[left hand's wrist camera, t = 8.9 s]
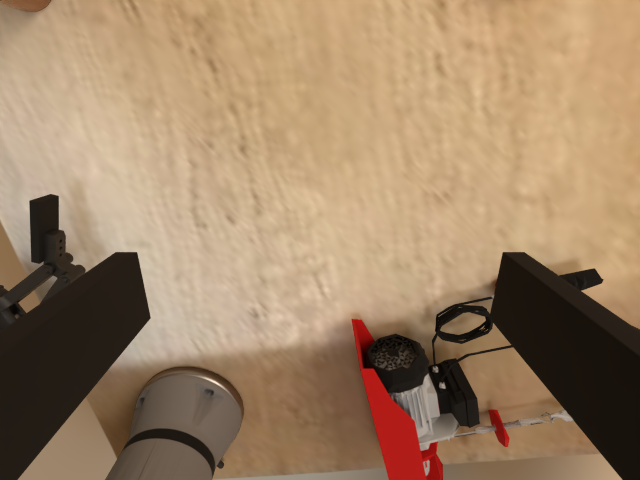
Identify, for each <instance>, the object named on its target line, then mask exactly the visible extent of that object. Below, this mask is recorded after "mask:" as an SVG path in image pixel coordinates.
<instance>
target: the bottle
mask: <svg viewBox="0 0 640 480" xmlns="http://www.w3.org/2000/svg"><path fill="white" fill-rule="evenodd" d="M50 1H51V0H0V3H2V4H5V5H8V6H11V7H14V8H16V9H19V10H22V11H27V12H36V11H39V10H41V9H43V8H45V7H46V6H47V5H48V4H49V3H50Z"/></svg>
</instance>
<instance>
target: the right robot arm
mask: <svg viewBox="0 0 640 480" xmlns="http://www.w3.org/2000/svg"><path fill="white" fill-rule="evenodd" d="M30 230H31V262H34V263H38V264H40V263H42V262H43V261H44V265H42V266H41V267H39V268H38V269H37V270H36V271H34V272H33V273H32V274H30V275H29V276H28V277H27V278H25V279H24V280H23V281H21V282H20V283H19V284H18V285H16V286H15V287H14V288H12V289H11V290H10V291H7V290H6V289H4V286H2V285H0V331H1V330H3V329H4V328H6V327H7V326H9V325H10V324H12V323H13V322H15V321H16V320H18V319H19V318H21V317H22V316H23V315H25V314H26V312H25V311H24V310H23V308H22V307H21V306H20V305H19V304H18V302H19V301H21V300H22V299H23V298H25V297H26V296H27V295H29V294H30V293H31V292H32V291H33V290H35V289H36V288H37V287H39V286H40V285H41V284H43V283H44V282H45V281H46V280H48V279H49V278H50V277H52V276H53V275H54V276H56V277H57V278H58V279H57V280H56V282H55V283H54V284H53V286H52V287H51V289H50V290H49V292H48V293H47V295H46V296H45V297H44V299H43V300H42V302H44V301H45V300H47V299H48V298H50V297H51V296H53V295H54V294H56V293H57V292H59V291H60V290H61V289H63V288H64V287H66V286H67V285H69V284H70V283H72V282H73V281H75V280H76V279H78V278H79V277H80V276H82V275H83V274H85V268H84V267H83V266H81V265H76V266H75V265H73V264H71V262H72V261H73V256H72V255H71V254H70V253H65V250H66V245H65V244H66V236H65V233H64V231H62V230H59V196H56V195H52V194H50V195H47V196H43V197H40V198H37V199H34V200H30ZM42 302H41V303H42ZM41 303H40V304H41ZM243 413H244V409H243V403H242V400H241V397H240V395H239V394H238V392H237V391H236V389H235V388H234V387H233V386H232V385H231V384H230V383H229V382H228V381H226V380H225V379H224V378H222V377H220V376H219V375H217V374H215V373H213V372H210V371H207V370H204V369H199V368H193V367H178V368H172V369H168V370H165V371H163V372H161V373H159V374H157V375H156V376H154V377H153V378H152V379H151V380H150V381H149V382H148V383H147V384H146V386H145V387H144V389H143V390H142V392H141V394H140V395H139V397H138V400H137V403H136V406H135V411H134V416H133V420H132V425H131V430H130V434H129V439H128V442H127V444H126V445H125V447H124V449H123V450H122V452H121V454H120V455H119V457H118V459H117V461H116V462H115V464H114V466H113V467H112V469H111V471H110V472H109V474H108V476H107V478H106V479H105V480H212V478H213V474H214V471H215V468H216V466H217V467H219V468H220V469H221V468H223V466H224V463H223V462H222V461H221V458H222V457H223V455H224V454H225V452H226V451H227V449H228V448H229V446H230V444H231V443H232V442H233V440H234V439H235V437H236V436H237V434H238V432H239V430H240V426H241V423H242V419H243Z"/></svg>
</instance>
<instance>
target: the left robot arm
mask: <svg viewBox="0 0 640 480" xmlns="http://www.w3.org/2000/svg"><path fill="white" fill-rule="evenodd" d="M489 318H490V319H491V321H492V322H493V323H494V324H495V325H496V327H497V328H498V329H499V330H500V331H501V333H502V334H503V335H504V336H505V338H506V339H507V340H508V341H509V342H510V344H511V345H512V346H513V347H514V348H515V350H516V351H517V352H518V353H519V355H520V356H521V357H522V358H523V359H524V361H525V362H526V363H527V364H528V365H529V367H530V368H531V369H532V370H533V372H534V373H535V374H536V375H537V376H538V378H539V379H540V380H541V381H542V382H543V384H544V385H545V386H546V387H547V389H548V390H549V391H550V392H551V393H552V395H553V396H554V397H555V398H556V399H557V401H558V402H559V403H560V404H561V406H562V407H563V408H564V409H565V410H566V412H567V413H568V414H569V415H570V416H571V418H572V419H573V420H574V421H575V423H576V424H577V425H578V426H579V427H580V429H581V430H582V431H583V432H584V433H585V435H586V436H587V437H588V438H589V440H590V441H591V442H592V443H593V444H594V446H595V447H596V448H597V449H598V450H599V452H600V453H601V454H602V455H603V457H604V458H605V459H606V460H607V461H608V463H609V464H610V465H611V466H612V467H613V469H614V470H615V471H616V472H617V473H618V475H619V476H620V477H621V478H622V480H640V329H638V328H636V327H634V326H631V325H630V324H628V323H627V322H625V321H624V320H622V319H621V318H619V317H618V316H617V315H615V314H614V313H612V312H611V311H609V310H608V309H606V308H605V307H603V306H602V305H600V304H599V303H598V302H596V301H595V300H593V299H592V298H590V297H589V296H587V295H586V294H584V293H583V292H581V291H580V290H579V289H577V288H576V287H574V286H573V285H571V284H570V283H568V282H567V281H565V280H564V279H562V278H561V277H560V276H558V275H557V274H555V273H554V272H552V271H551V270H549V269H548V268H546V267H545V266H544V265H542V264H541V263H539V262H538V261H536V260H535V259H533V258H532V257H530V256H529V255H527V254H526V253H525V252H503V254H502V259H501V264H500V269H499V274H498V279H497V284H496V288H495V293H494V298H493V303H492V308H491V313H490V317H489ZM149 319H150V313H149V308H148V303H147V298H146V293H145V288H144V284H143V279H142V274H141V269H140V264H139V259H138V254H137V252H115V253H114V254H113V255H111V256H110V257H108V258H107V259H105V260H104V261H102V262H101V263H99V264H98V265H96V266H95V267H94V268H92V269H91V270H89V271H88V272H86V273H85V274H83V275H82V276H80V277H79V278H78V279H76V280H75V281H73V282H72V283H70V284H69V285H67V286H66V287H64V288H63V289H61V290H60V291H59V292H57V293H56V294H54V295H53V296H51V297H50V298H48V299H47V300H45V301H44V302H42V303H41V304H40V305H38V306H37V307H35V308H34V309H32V310H31V311H29V312H28V313H26V314H25V315H23V316H22V317H21V318H19V319H18V320H16V321H15V322H13V323H12V324H10V325H9V326H7V327H6V328H4V329H3V330H1V331H0V480H18V478H19V477H20V476H21V475H22V473H23V472H24V471H25V470H26V469H27V467H28V466H29V465H30V464H31V463H32V461H33V460H34V459H35V458H36V456H37V455H38V454H39V453H40V452H41V450H42V449H43V448H44V447H45V446H46V444H47V443H48V442H49V441H50V440H51V438H52V437H53V436H54V435H55V433H56V432H57V431H58V430H59V429H60V427H61V426H62V425H63V424H64V423H65V421H66V420H67V419H68V418H69V416H70V415H71V414H72V413H73V412H74V410H75V409H76V408H77V407H78V406H79V404H80V403H81V402H82V401H83V399H84V398H85V397H86V396H87V395H88V393H89V392H90V391H91V390H92V389H93V387H94V386H95V385H96V384H97V382H98V381H99V380H100V379H101V378H102V376H103V375H104V374H105V373H106V372H107V370H108V369H109V368H110V367H111V365H112V364H113V363H114V362H115V361H116V359H117V358H118V357H119V356H120V355H121V353H122V352H123V351H124V350H125V348H126V347H127V346H128V345H129V344H130V342H131V341H132V340H133V339H134V338H135V336H136V335H137V334H138V333H139V331H140V330H141V329H142V328H143V327H144V325H145V324H146V323H147V322H148V321H149Z"/></svg>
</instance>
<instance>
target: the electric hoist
mask: <svg viewBox="0 0 640 480" xmlns="http://www.w3.org/2000/svg"><path fill="white" fill-rule="evenodd" d="M560 277H561V278H562V279H564V280H565V281H567V282H568V283H570V284H571V285H573V286H574V287H576V288H577V289H579V290H580V291H581V290H584V289H587V288H590V287H593V286H596V285H598V284H601V283H602V282H603V280H604V279H601V277H600V276H599V274H598V273H597V271H596V270H595V269H589V270H584V271H579V272H574V273H570V274H565V275H560ZM496 284H497V282H496ZM495 286H496V285H495ZM493 298H494V295H492V297H487V298H483V299H478V300H473V301H468V302H464V303H459V304H455V305H452V306H450V307H448V308H446V309H445V310H443V311H442V312H440V313H439V314H437V316H436V328H435V332H436V334H435V336H434V338H433V340H432V347H433V359H434V365H430V366H429V367H430V368H429V367H428V364H429V360H428V359H427V357H426V355H425V351H424V349H423V348H422V347H421V345H420V343H418V342H416V341H413V340H411V339H409V338H405V337H403V336H400V335H397V334H393V335H390V336H386V337H383V338H380V339H378V340H377V341H374V339H373V338H372V336H371V334H370V333H369V331H368V330H367V328H366V326H365V325H364V323H363V322H362V320H358V319H352V324H353V330H354V336H355V342H356V347H357V353H358V359H359V364H360V370H361V373H362V377H363V381H364V385H365V389H366V393H367V397H368V400H369V404H370V408H371V412H372V416H373V420H374V424H375V427H376V431H377V435H378V439H379V443H380V447H381V451H382V454H383V458H384V462H385V466H386V470H387V474H388V478H389V480H443V464H442V463H441V461H440V459H439V458H438V456H437V454H436V451H437V443H438V441H442V440H446V439H448V441H449V439H450V438H453V437H457V436H464V435H470V434H476V433H480V434H481V433H485V432H490V431H495V434H496V436H497V438H498V441H499V442H500V443H501V444H502V445H503V446H505V447H508V443H509V436H508V434H507V432H506V430H505V429H507V428H513V427H520V426H526V425H532V424H538V423H545V422H551V423H553V420H555V419H558V418H562V419H563V420H565V421H574V420H573V419H572V418H571V416H570V415H569V414H566V413H567V412H566V410H565V409H564V410H561V411H559V412H557V413H553V414H549V413H547V412H546V413H544V414H547V415H548V416H549V417H550V419H551V420H550V421H544V420H540V419H539V418H540V417H541V418H542V416H543V415H544V414H543V415H541V416H540V417H537V418H528V419H522V420H520V421H519V420H517V421H518V422H517V421H513V422H509V423H502V420H501V418H500V416H499V413H498V411H497V410H489V415H490V419H491V424H492V426H484V427H477V428H475V431H472V432H467V433H461V434H456V435H454V434H455V433H456V431H457V429H458V428H459V425H460V426H468V427H469V428H471V427H473V426H475V425H477V424H480V422H479V412H478V402H477V397H476V396H475V394H474V392H473V390H472V388H471V386H470V384H469V382H468V380H467V378H466V376H465V375H464V373H463V371H462V369H461V367H460V365H459V363H458V362H459V361H461V360H463V359H464V358H466V357H468V356H471V355H476V354H481V353H486V352H491V351H496V350H501V349H506V348H511V347H513V346H512V345H510V346H505V347H500V348H495V349H490V350H485V351H480V352H475V353H470V354H466V355H464V356H463V357H461V358H459V359H458V360H457V359H456V358H455V359H449V360H446V361H443V362H441V363H439V364H435V351H434V342H435V340H436V338H437V335H438V336H439V337H440V338H441V339H442V340H445V341H450V342H455V343H460V344H463V343H465V342H468V341H470V340H473V339H476V338H478V337H481V336H483V335H486V334H488V333H489V332H490V331H491V329H492V326H493V322H492V321H491V319H490V318H489V317H490V314H489V312H488V311H487V309H486V308H484V307H483V306H470V305H464V304H469V303H474V302H479V301H483V300H488V299H493ZM458 307H461V308H458ZM451 308H452V309H451ZM449 309H450V310H449ZM448 310H449V311H448ZM446 311H447V312H446ZM444 312H446V313H444ZM457 312H458V313H457ZM466 312H471V313H474V314H478V315H481V316H485V318H486V321H485V322H484V323H483V324H482V325H480V326H479V327H477V328H475V329H474V330H472V331H470V332H468V333H464V334H461V335H455V334H449V333H445V332H442V331H440V329H441V327H442V326H443V325H444V324H446V323H447V322H449V321H451V320H452V319H454V318H456V317H457V316H459V315H461V314H462V313H466ZM443 313H444V314H443ZM441 314H442V315H441ZM454 314H455V315H454ZM439 315H441V316H439ZM438 316H439V317H438ZM438 320H439V321H438ZM484 325H485V326H484ZM483 326H484V328H485V329H484V328H483V330H482V329H481V328H482V327H483ZM479 329H481V330H482V331H481V330H479ZM487 329H488V330H487ZM486 330H487V331H486ZM484 331H485V332H484ZM464 339H466V340H464ZM460 340H464V341H460ZM562 411H563V412H562ZM544 416H546V415H544ZM544 416H543V417H544ZM510 424H511V425H510Z"/></svg>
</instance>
